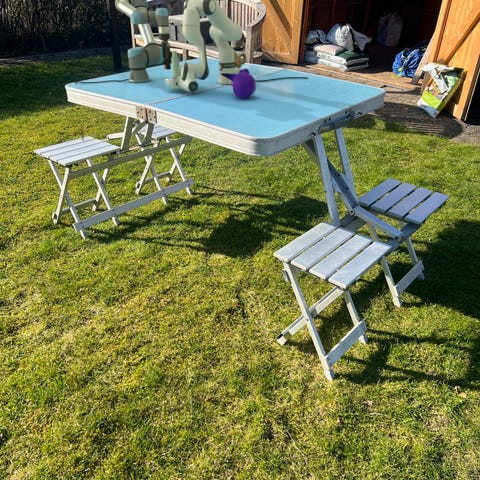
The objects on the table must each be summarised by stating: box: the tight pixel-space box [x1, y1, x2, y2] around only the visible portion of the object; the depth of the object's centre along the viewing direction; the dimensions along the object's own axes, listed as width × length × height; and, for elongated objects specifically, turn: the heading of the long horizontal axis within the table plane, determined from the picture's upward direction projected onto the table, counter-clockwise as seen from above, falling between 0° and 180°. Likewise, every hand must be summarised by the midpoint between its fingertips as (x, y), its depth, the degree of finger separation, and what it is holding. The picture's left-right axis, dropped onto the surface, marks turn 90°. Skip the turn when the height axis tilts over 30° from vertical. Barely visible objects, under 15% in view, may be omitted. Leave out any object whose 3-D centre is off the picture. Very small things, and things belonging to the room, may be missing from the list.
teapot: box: [234, 50, 247, 69], centre depth 367 cm, size 21×12×15 cm, turn 120°
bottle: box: [170, 50, 181, 78], centre depth 308 cm, size 5×5×24 cm
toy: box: [221, 68, 257, 99], centre depth 286 cm, size 16×18×27 cm
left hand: (167, 68), depth 322 cm, fingers closed on cap, 4 cm apart
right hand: (176, 79), depth 311 cm, fingers closed on bottle, 5 cm apart
